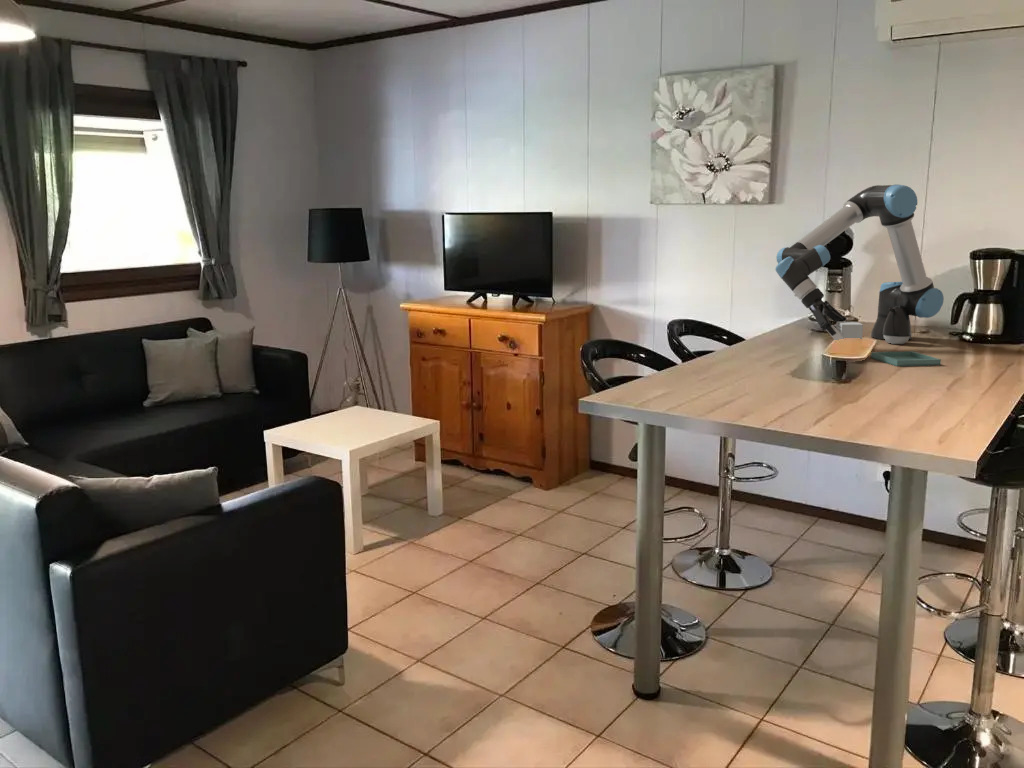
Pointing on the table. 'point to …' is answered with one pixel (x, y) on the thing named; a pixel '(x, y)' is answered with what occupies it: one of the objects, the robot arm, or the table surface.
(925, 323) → the table surface
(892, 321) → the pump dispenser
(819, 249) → the robot arm
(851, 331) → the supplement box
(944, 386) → the table surface
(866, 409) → the table surface
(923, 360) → the tray
